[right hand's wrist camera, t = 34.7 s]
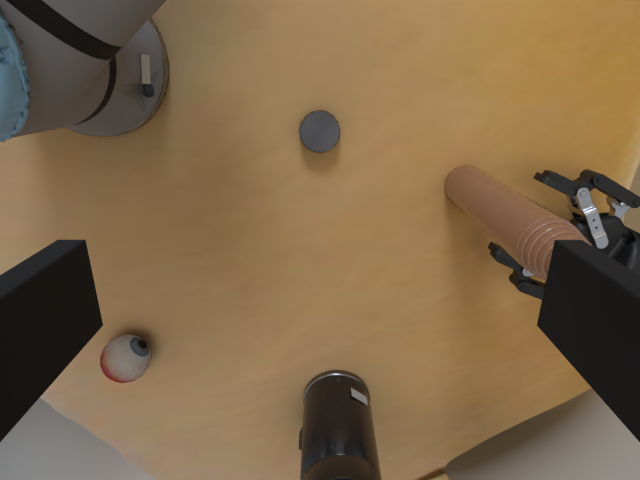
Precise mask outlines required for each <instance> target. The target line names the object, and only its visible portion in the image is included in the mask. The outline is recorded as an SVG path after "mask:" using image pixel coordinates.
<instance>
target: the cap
mask: <svg viewBox="0 0 640 480" xmlns="http://www.w3.org/2000/svg"><path fill="white" fill-rule="evenodd" d="M299 131H300V138H301V140H302V142H303V144H304V145H305V146H306V147H307V148H308V149H309V150H311V151H314V152H325V151H328V150H330V149H331V148H333V147H334V146H335V144H336V143H337V141H338V139H339V135H340V128H339V125H338V121H337V120H336V119H335V117H334V116H333V115H331V114H330V113H328V112H327V111H321V110H319V111H314V112H313V111H312V112H311V113H309V114H308V115H307V116H305V118H304V119H303V121H302V122H301V126H300V130H299Z"/></svg>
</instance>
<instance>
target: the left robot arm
mask: <svg viewBox="0 0 640 480" xmlns="http://www.w3.org/2000/svg"><path fill="white" fill-rule="evenodd" d="M533 178H534V179H536V180H538V181H540V182H542V183H544V184H546V185H548V186H550V187H552V188H554V189H556V190H558V191H560V192H562V193H564V194H566V196H567V199H568V202H569V204H568V208H569V211H570V214H571V217H572V219H571V220H570V221H569V222H570V223H571V224H572V225H574V226H575V227H576V228H577V229H578V230H579V231H580V232H581V233H582V234H583V236H584V237H585V238H586V239H587V240H588V242H590V243H591V245H592V246H593V247H594V248H596V249H598V250H599V251H601V252H603V253H604V254H606V255H607V256H609V257H611V258H612V259H614V260H616V261H617V262H619V263H620V264H622V265H624V266H625V267H627V268H629V269H630V270H632V271H633V272H635V273H637V274H638V275H640V233H638V232H636V231H634V230H632V229H630V228H628V227H626V226H624V225H623V223H622V221H621V218H622V217H623V216H624V214H625V213H626V212H627V211H628V210H629V208H630V207H632V208H638V207H639V206H640V197H639V196H637V195H636V194H634V193H632V192H631V191H629V190H627V189H626V188H624V187H622V186H621V185H619V184H618V183H616V182H614V181H613V180H611V179H609V178H608V177H606V176H605V175H603V174H600V173H597V172H594V171H591V170H584V171H582V172H581V174H580V177H579V178H577V179H576V180H573V181H571V180H569V179H567V178H565V177H563V176H561V175H559V174H557V173H555V172H552V171H550V170H545V171H544V172H543V174H540V173H538V172H537V173H536V174H535V176H534V177H533ZM594 188H596V189H597V190H599V191H601V192H602V193H604V194H606V195H607V196H608V197H607V198H606V200H607V204H608V205H609V206H610V211H609V213H598V210H597V208H596V207H595V206H594V205H593V202H592V199H591V195H590V191H591V190H592V189H594ZM488 248H489V249H490V250H491V252H490V254H491V255H492V256H493V258H494V259H495V260H496V261H497V262H499V263H501V264H504V265H506V266H508V267H510V268H512V269H513V273H512V274H511V275H510V276H509V280H510V281H511V282H512V283H513V284H514V285H515V286H516V287H517V289H518V290H519V291H520V292H523V293H525V294H528V295H531V296H533V297H536V298H539V299H541V300H542V299H543V294H544V289H545V284H546V282H545V284H544V283H542V282H539V281H536V280H534V279H531V278H529V277H530V276H533V275H534V274H532V273H530V272H529V271H527V270H526V269H525V268H523V267H522V266H521V265H520V264H519V263H518V262H517V261H516V260H515V259H514V258H513V257H511V256H510V255H509V254H508V253H507V252H506V251H505V250H504V249H503V248H502V247H501V246H500V245H498V244H495V243H493V242H491V243H490V244H489V246H488ZM299 449H300V450H302V457H301V478H300V480H382V479H381V472H380V466H379V459H378V453H377V446H376V440H375V433H374V427H373V420H372V414H371V407H370V396H369V391H368V388H367V386H366V384H365V383H364V382H363V381H362V380H361V379H360V378H359V377H357V376H355V375H354V374H351V373H348V372H344V371H330V372H326V373H323V374H320V375H319V376H317V377H315V378H314V379H313V380H312V381H311V382H310V383H309V384H308V385H307V387H306V389H305V392H304V416H303V427H302V429H301V431H300V435H299Z"/></svg>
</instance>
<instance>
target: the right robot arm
mask: <svg viewBox="0 0 640 480" xmlns="http://www.w3.org/2000/svg"><path fill="white" fill-rule="evenodd" d="M165 1H166V0H0V142H2V141H6V139H11V138H12V137H17V136H22V135H27V134H32V133H37V132H42V131H47V130H52V129H57V128H62V127H65V128H68V129H70V130H72V131H75V132H78V133H81V134H85V135H92V136H114V135H119V134H123V133H126V132H129V131H132V130H134V129H136V128H138V127H140V126H142V125H143V124H144V123H146V122H147V121H148V120H149V119H150V118H151V117H152V116H153V115H154V114H155V113H156V111H157V110H158V108H159V107H160V105H161V103H162V101H163V99H164V96H165V93H166V90H167V85H168V77H169V65H168V57H167V52H166V48H165V45H164V42H163V39H162V37H161V34H160V32H159V30H158V28H157V26H156V25H155V23H154V21H153V20H152V19H151V16H152V15H153V14H154V13H155V12H156V11H157V10H158V9H159V8H160V6H161V5H162V4H163V3H164V2H165ZM102 326H103V323H102V318H101V313H100V308H99V304H98V299H97V294H96V289H95V284H94V279H93V275H92V270H91V265H90V260H89V255H88V250H87V246H86V241H85V240H57V241H55V242H54V243H52V244H50V245H49V246H47V247H46V248H44V249H42V250H41V251H39V252H37V253H36V254H34V255H33V256H31V257H29V258H28V259H26V260H24V261H23V262H21V263H20V264H18V265H16V266H15V267H13V268H11V269H10V270H8V271H7V272H5V273H3V274H2V275H0V442H1V441H2V439H3V438H4V437H5V436H6V435H7V434H8V433H9V431H10V430H11V429H12V428H13V427H14V426H15V425H16V424H17V422H18V421H19V420H20V419H21V418H22V417H23V416H24V414H25V413H26V412H27V411H28V410H29V409H30V408H31V406H32V405H33V404H34V403H35V402H36V401H37V400H38V399H39V397H40V396H41V395H42V394H43V393H44V392H45V391H46V389H47V388H48V387H49V386H50V385H51V384H52V383H53V381H54V380H55V379H56V378H57V377H58V376H59V375H60V373H61V372H62V371H63V370H64V369H65V368H66V367H67V366H68V364H69V363H70V362H71V361H72V360H73V359H74V358H75V356H76V355H77V354H78V353H79V352H80V351H81V350H82V348H83V347H84V346H85V345H86V344H87V343H88V342H89V340H90V339H91V338H92V337H93V336H94V335H95V334H96V333H97V331H98V330H99V329H100V328H101V327H102ZM537 326H538V327H539V328H540V329H541V330H542V331H543V333H544V334H545V335H546V336H547V337H548V338H549V339H550V340H551V342H552V343H553V344H554V345H555V346H556V347H557V348H558V350H559V351H560V352H561V353H562V354H563V355H564V356H565V358H566V359H567V360H568V361H569V362H570V363H571V364H572V366H573V367H574V368H575V369H576V370H577V371H578V372H579V373H580V375H581V376H582V377H583V378H584V379H585V380H586V381H587V383H588V384H589V385H590V386H591V387H592V388H593V389H594V391H595V392H596V393H597V394H598V395H599V396H600V397H601V398H602V400H603V401H604V402H605V403H606V404H607V405H608V406H609V408H610V409H611V410H612V411H613V412H614V413H615V414H616V416H617V417H618V418H619V419H620V420H621V421H622V422H623V424H624V425H625V426H626V427H627V428H628V429H629V430H630V431H631V433H632V434H633V435H634V436H635V437H636V438H637V439H638V441H639V442H640V275H638V274H637V273H635V272H633V271H632V270H630V269H629V268H627V267H625V266H624V265H622V264H620V263H619V262H617V261H616V260H614V259H612V258H611V257H609V256H607V255H606V254H604V253H603V252H601V251H599V250H598V249H596V248H594V247H593V246H591V245H590V244H588V243H586V242H585V241H583V240H555V241H554V246H553V250H552V255H551V260H550V265H549V270H548V275H547V279H546V284H545V289H544V294H543V299H542V304H541V308H540V313H539V318H538V323H537Z"/></svg>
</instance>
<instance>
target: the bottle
mask: <svg viewBox="0 0 640 480" xmlns="http://www.w3.org/2000/svg"><path fill="white" fill-rule="evenodd" d="M445 192H446V195H447V196H448V198H449V199H450V200H451V201H452V202H453V203H455V204H456V205H457V206H458V207H459V208H460V209H461V210H462V211H463V212H464V213H465V214H466V215H467V216H469V217H470V218H471V219H472V220H473V221H474V222H475V223H476V224H477V225H478V226H479V227H480V228H481V229H482V230H484V231H485V232H486V233H487V234H488V235H489V236H490V237H491V238H492V239H493V240H494V241H495V242H496V243H498V244H499V245H500V246H501V247H502V248H503V249H504V250H505V251H506V252H507V253H508V254H509V255H510V256H511V257H513V258H514V259H515V260H516V261H517V262H518V263H519V264H520V265H521V266H522V267H523V268H525V269H526V270H527V271H529V272H530V273H532V274H534V275H536V276H538V277H540V278H543V279H544V280H546V279H547V275H548V270H549V265H550V260H551V255H552V250H553V246H554V241H555V240H583V241H585V242H586V243H588V244H590V245H591V243H590V242H588V240H587V239H586V238H585V237H584V236H583V234H582V233H581V232H580V231H579V230H578V229H577V228H576V227H575V226H574V225H572V224H571V223H570V222H569V221H567V220H565V219H564V218H562V217H560V216H558V215H557V214H555V213H553V212H552V211H550V210H548V209H546V208H545V207H543V206H541V205H539V204H538V203H536V202H534V201H532V200H531V199H529V198H527V197H526V196H524V195H522V194H520V193H519V192H517V191H515V190H513V189H512V188H510V187H508V186H506V185H505V184H503V183H501V182H499V181H498V180H496V179H494V178H493V177H491V176H489V175H487V174H486V173H484V172H482V171H480V170H479V169H477V168H475V167H473V166H469V165H464V166H460V167H457V168H455V169H454V170H453V171H452V172H450V174H449V175H448V176H447V178H446V181H445ZM591 246H592V245H591Z"/></svg>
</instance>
